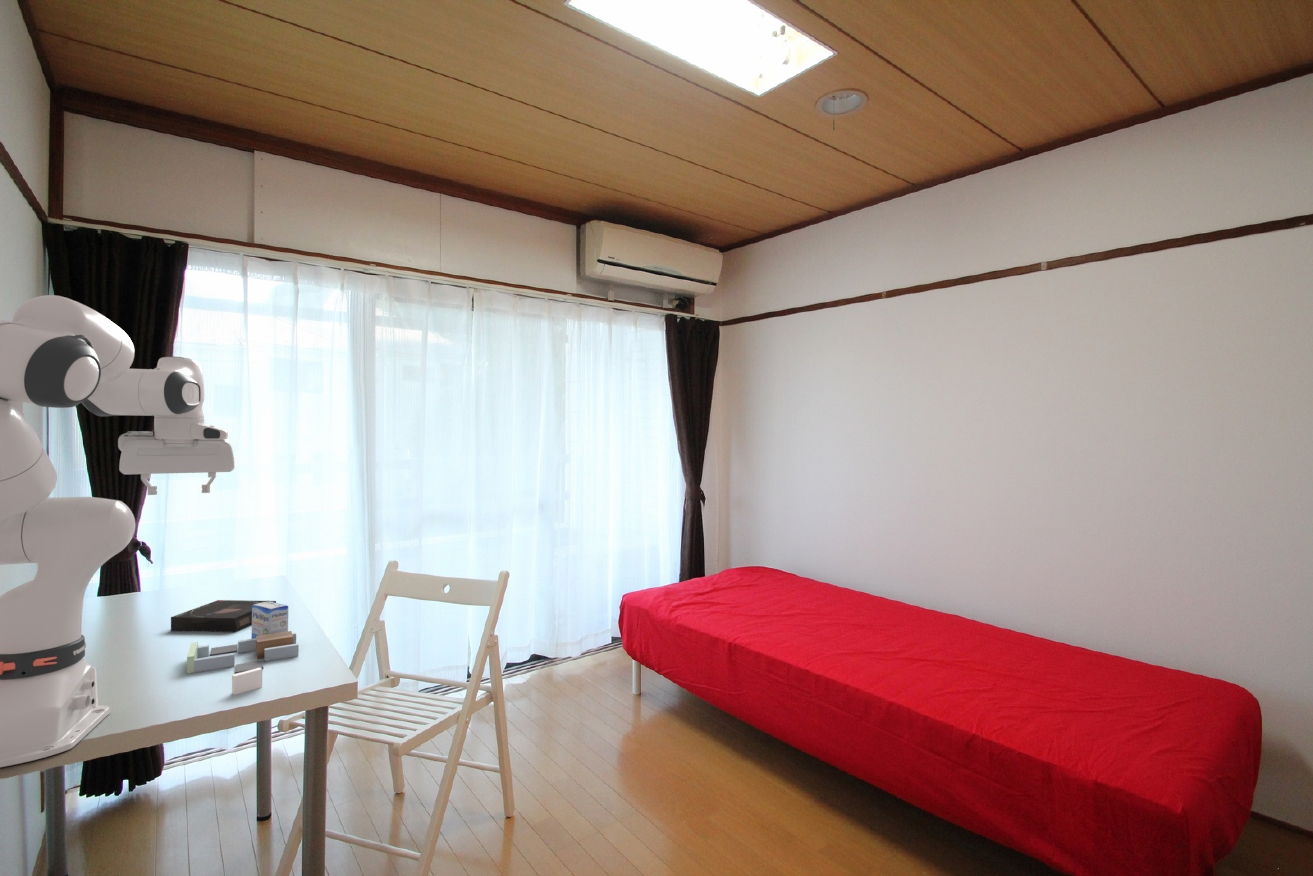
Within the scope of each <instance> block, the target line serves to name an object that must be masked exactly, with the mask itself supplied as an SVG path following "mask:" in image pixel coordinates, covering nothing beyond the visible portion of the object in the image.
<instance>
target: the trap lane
mask: <svg viewBox="0 0 1313 876" xmlns="http://www.w3.org/2000/svg"><path fill="white" fill-rule="evenodd" d="M292 634H293V644H291V645H284V646H278V647H271V648H265V652H264V658H263V659H264V660H261V659H260V660H256V661H250V662H243V663H237V664H235V663H236V662H235V660H236V658H235V657H236V655H235V653H238V654H241V653H247V652H254V651H255V652H256V638H254V639H251V638H247V639H241V640H238V641H237V642H238V643H236V644H231V645H230V644H229V645H224V646H222V645H221V646H216V647H215V646H214V647H211V648H210V644H205V645H199V643H198V641H196V642H191V643H190V646H189V649H188V653H187V657H186V674H188V675H189V674H193V673H194V674H195V673H200V672H208V671H212V670H219V669H224V668H232V667H235V671H234V674H237V673H241V672H245V671H249V670H253V669H256V668H262V670H263V669H264V662H268V661H269V662H270V661H275V660H281V659H287V658H293V657H299V643H297V632H292Z"/></svg>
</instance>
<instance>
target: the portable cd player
mask: <svg viewBox="0 0 1313 876" xmlns="http://www.w3.org/2000/svg"><path fill="white" fill-rule="evenodd" d="M263 602H274V603H277V600H244V599H243V600H237V599H235V600H233V599H230V600H229V599H228V600H227V599H218V600H214V601H212V602H208V603H205V604H203V605H201V606H198V607H195V608H193V609H189V610H187V611H184V612H182V613H178V614H176V615H174V616H171V617H170V632H196V633H197V632H199V633H200V632H203V633H204V632H205V633H207V632H208V633H209V632H211V633H213V632H214V633H218V632H219V633H237V632H239V631H241V630H243V629H245V628H247V627H250V626H252V605H254V604H258V603H263Z"/></svg>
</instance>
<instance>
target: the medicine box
mask: <svg viewBox="0 0 1313 876" xmlns="http://www.w3.org/2000/svg"><path fill="white" fill-rule="evenodd" d="M287 631H289V605H287V604H281V603H279V602H276V603H274V602H263V603H258V604H254V605H252V625H251V637H250V639H254V638H256V636H261V635H267V634H274V633H280V632H287Z"/></svg>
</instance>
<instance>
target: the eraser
mask: <svg viewBox="0 0 1313 876" xmlns="http://www.w3.org/2000/svg"><path fill="white" fill-rule="evenodd" d="M259 688H263V669H262V668H256V669H253V670H249V671H245V672H241V673H234V674H231V694H232V695H238V694H243V693H246V692H248V691H253V690H256V689H259Z"/></svg>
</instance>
